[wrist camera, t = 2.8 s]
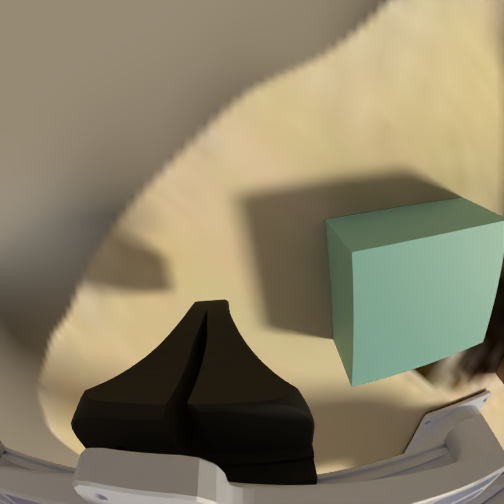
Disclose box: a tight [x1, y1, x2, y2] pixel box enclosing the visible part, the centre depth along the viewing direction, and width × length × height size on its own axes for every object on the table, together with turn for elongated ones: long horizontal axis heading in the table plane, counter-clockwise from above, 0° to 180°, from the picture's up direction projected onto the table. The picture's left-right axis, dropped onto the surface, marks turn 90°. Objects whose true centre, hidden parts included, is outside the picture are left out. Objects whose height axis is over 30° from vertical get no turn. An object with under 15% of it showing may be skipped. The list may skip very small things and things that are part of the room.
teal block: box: [325, 197, 504, 387], centre depth 14 cm, size 7×8×4 cm
